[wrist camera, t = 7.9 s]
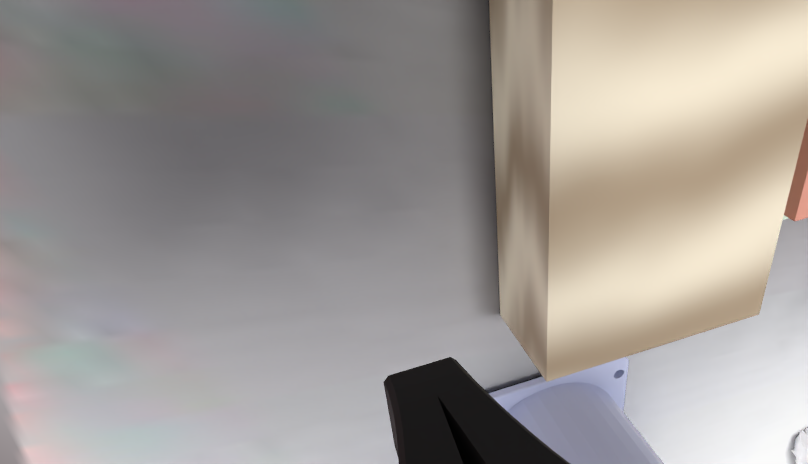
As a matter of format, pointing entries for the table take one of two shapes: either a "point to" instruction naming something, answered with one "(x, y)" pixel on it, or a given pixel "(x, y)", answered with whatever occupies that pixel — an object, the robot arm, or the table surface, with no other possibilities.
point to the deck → (640, 167)
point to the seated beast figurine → (801, 447)
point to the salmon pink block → (799, 184)
